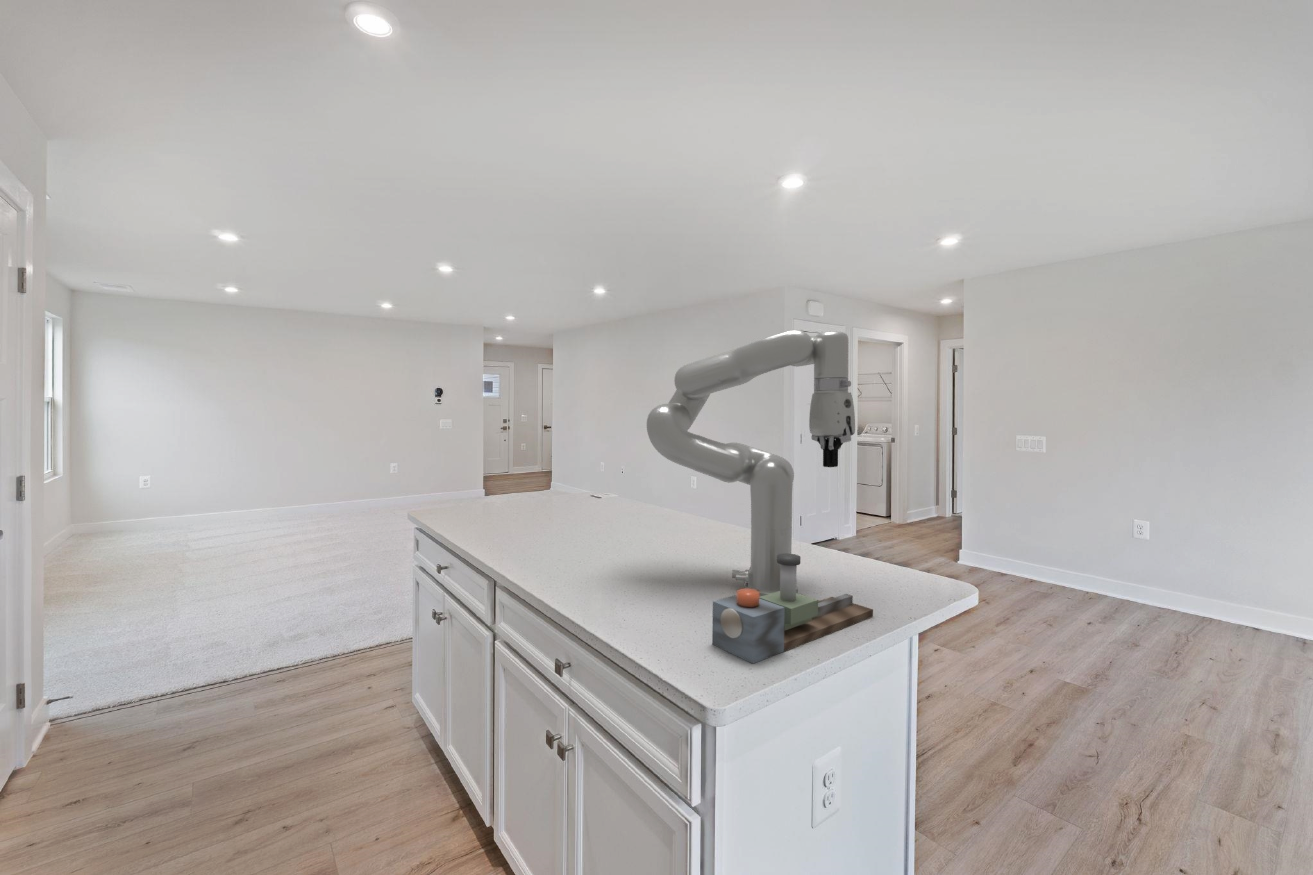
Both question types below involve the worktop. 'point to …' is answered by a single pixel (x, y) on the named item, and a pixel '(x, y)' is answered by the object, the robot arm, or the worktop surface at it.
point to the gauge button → (748, 597)
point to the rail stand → (777, 625)
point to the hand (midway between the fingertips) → (830, 466)
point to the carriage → (792, 594)
